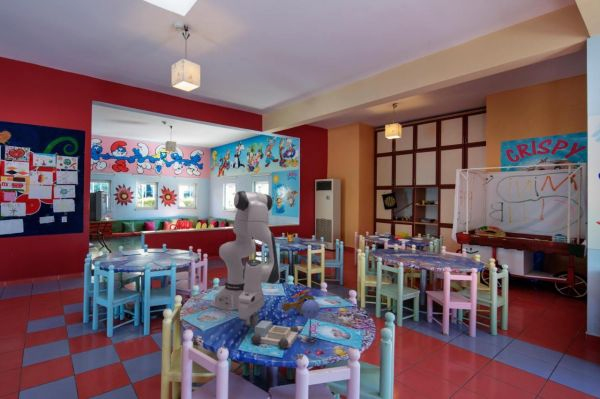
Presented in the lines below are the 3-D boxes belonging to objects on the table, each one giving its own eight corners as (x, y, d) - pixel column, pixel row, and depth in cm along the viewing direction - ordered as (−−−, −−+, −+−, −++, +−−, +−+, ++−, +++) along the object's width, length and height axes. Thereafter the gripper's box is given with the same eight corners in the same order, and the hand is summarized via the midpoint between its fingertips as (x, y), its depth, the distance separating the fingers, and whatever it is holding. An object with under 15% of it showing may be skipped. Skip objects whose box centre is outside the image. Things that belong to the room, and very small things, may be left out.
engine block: (244, 325, 152) (245, 313, 152) (248, 322, 156) (249, 310, 156) (253, 327, 151) (254, 315, 151) (257, 324, 155) (258, 312, 154)
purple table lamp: (299, 334, 150) (300, 297, 150) (317, 334, 151) (318, 297, 151) (301, 342, 142) (302, 303, 141) (320, 342, 142) (321, 303, 142)
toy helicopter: (317, 313, 177) (318, 289, 177) (286, 320, 166) (286, 295, 166) (309, 309, 184) (310, 286, 184) (278, 315, 173) (279, 291, 173)
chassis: (249, 343, 140) (250, 330, 140) (264, 329, 155) (264, 317, 155) (287, 350, 135) (288, 336, 135) (298, 334, 150) (299, 322, 150)
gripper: (256, 286, 164) (255, 313, 164) (236, 298, 145) (235, 328, 145) (267, 288, 162) (266, 315, 162) (248, 301, 143) (247, 331, 143)
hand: (251, 321), depth 154 cm, fingers closed on engine block, 4 cm apart
